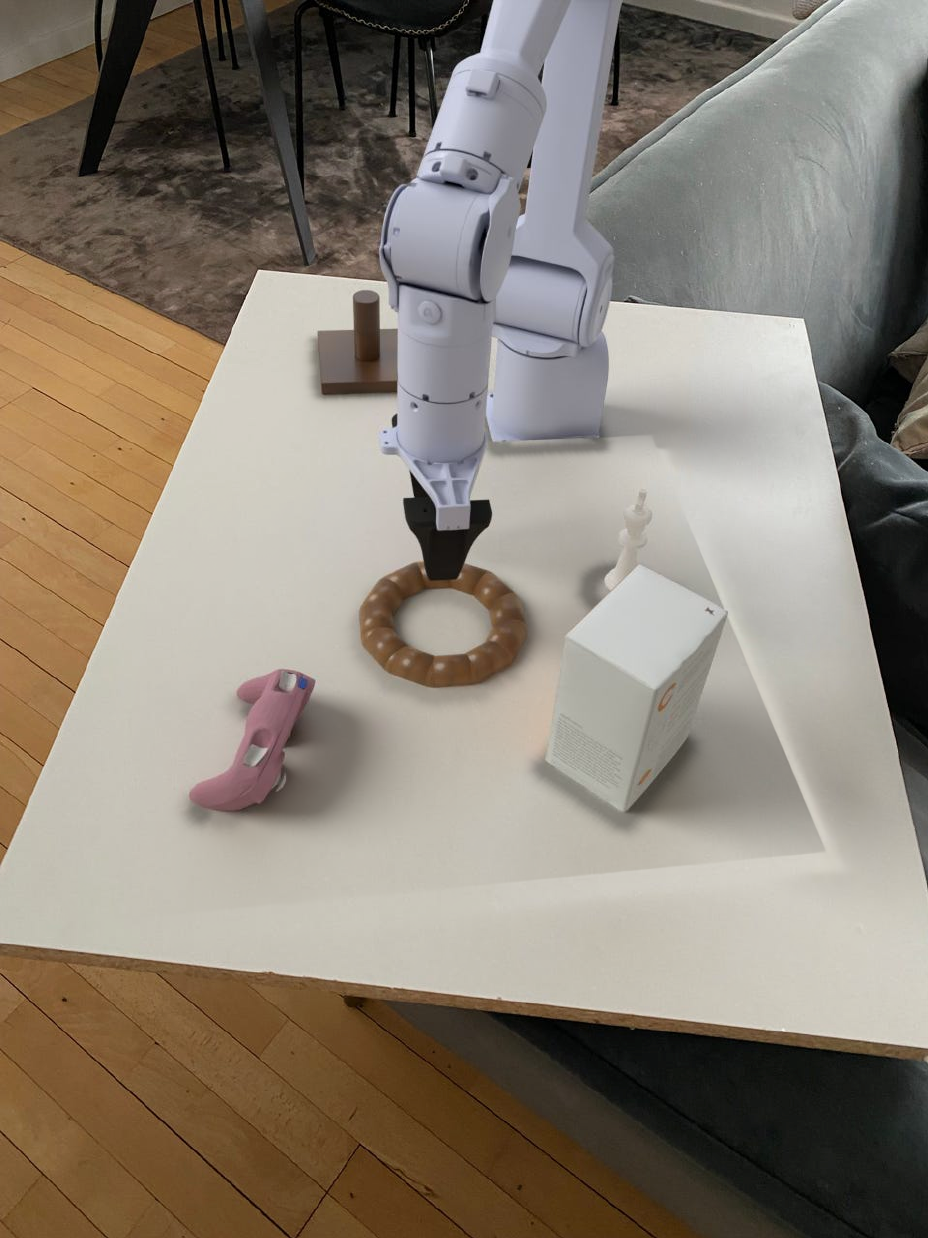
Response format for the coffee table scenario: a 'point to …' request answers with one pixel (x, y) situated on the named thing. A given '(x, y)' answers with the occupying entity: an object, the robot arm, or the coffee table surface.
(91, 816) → the coffee table surface
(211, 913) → the coffee table surface
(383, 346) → the peg stand
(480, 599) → the segmented brown ring
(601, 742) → the small box
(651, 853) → the coffee table surface
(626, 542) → the chess piece
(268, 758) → the video game controller
